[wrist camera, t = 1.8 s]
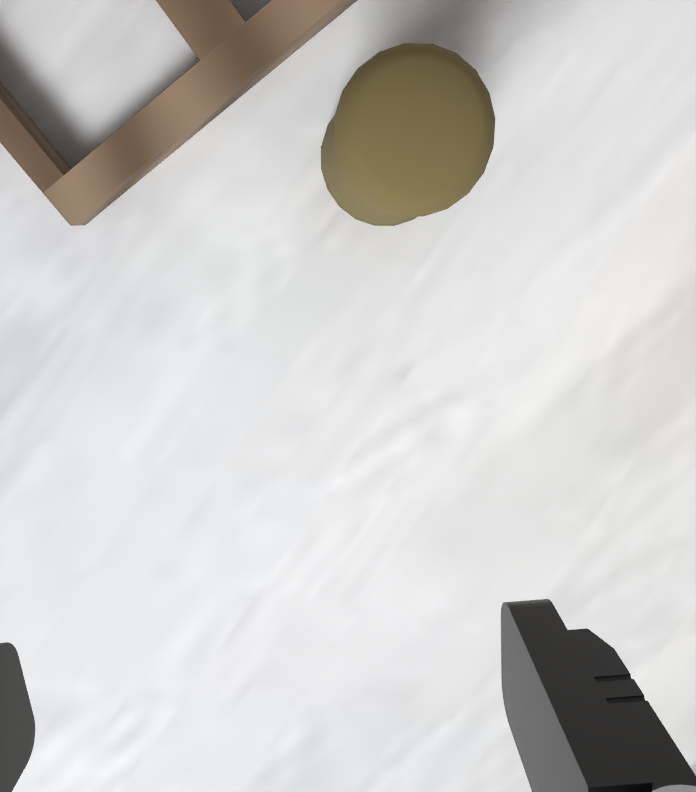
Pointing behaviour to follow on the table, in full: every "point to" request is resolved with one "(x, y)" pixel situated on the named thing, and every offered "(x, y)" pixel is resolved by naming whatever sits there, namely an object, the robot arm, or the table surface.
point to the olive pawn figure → (408, 135)
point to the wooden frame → (168, 100)
